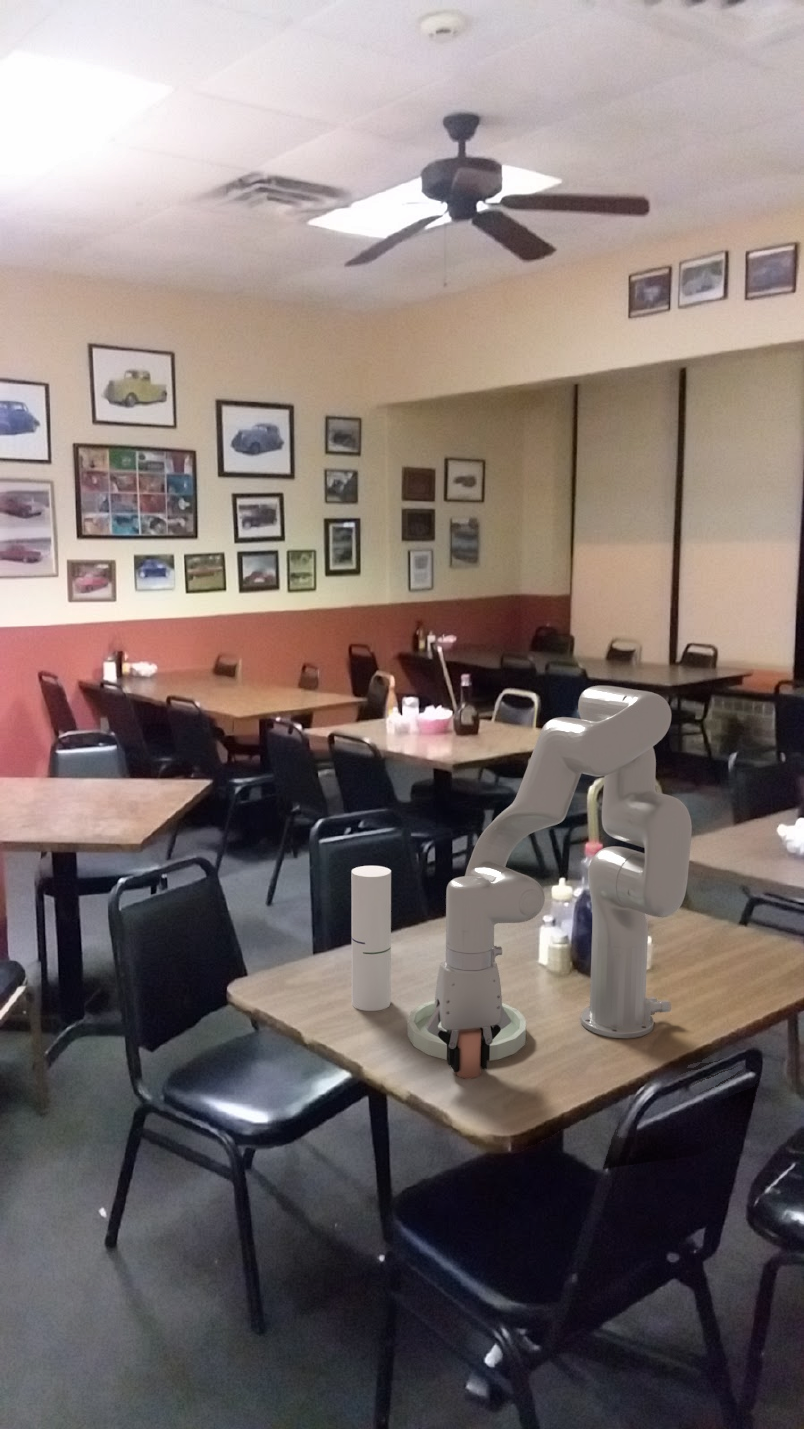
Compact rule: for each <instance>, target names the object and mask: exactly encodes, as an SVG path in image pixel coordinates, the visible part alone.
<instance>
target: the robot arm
mask: <svg viewBox="0 0 804 1429" xmlns="http://www.w3.org/2000/svg"><path fill="white" fill-rule="evenodd" d="M577 704H578V706H577V707H578V708H577V709H578V714H579V718H577V717H576V718H574V717H566V716H561V717H554V718H552V719H550V720H548V721H547V722H545V724H543V726H542V728H541V730H540V732H539V733H538V734H539V735H538V737H537V740H536V743H535V745H534V748H533V750H532V754H531V757H530V758H529V761H528V764H527V767H526V770H525V772H524V774H523V778H522V781H521V782H520V786H519V789H518V791H517V794H516V797H515V799H514V800H513V802H512V803H511V804H510V805H509V806H508V807H506V808H505V809H504V810H503V811H501V813H499V814H498V815H497V816H496V817H495V818H494V820H492V822H491V823H490V824H488V826H486V828H485V829H484V830H483V831H482V832H481V835H480V836H479V837H478V839H477V841H476V844H475V846H474V848H473V851H472V854H471V857H470V859H469V861H468V864H467V867H466V871H465V874H464V876H458V877H455V878H453V879H452V880H450V881H449V882H448V884H447V886H446V892H445V893H446V895H445V897H446V898H445V905H446V906H445V907H446V908H445V917H446V918H445V961H442V962H441V963H440V965H439V969H438V973H437V978H436V985H435V994H434V1000H435V1005H434V1013H433V1015H432V1016H431V1018H430V1019H429V1021H428V1023H427V1024H426V1029H427V1031H428V1032H429V1033H431V1034H433V1035H435V1036H437V1037H439V1038H440V1039H441V1040H442V1041H443V1042H444V1043H446V1044H447V1060H446V1063H447V1065H448V1066H450V1068H451V1069H452V1071H453V1073H455V1074H456V1072H458V1071H459V1058H460V1050H459V1048H458V1047H457V1040H458V1034H459V1030H463V1029H473V1028H480V1029H481V1069H483V1070H487V1069H488V1062H490V1061H489V1059H490V1044H492V1042H493V1039H494V1038H495V1037H496V1036H497V1034H498V1033H499V1032H500V1031H501V1029H503V1028H505V1027H506V1026H507V1025H509V1024H510V1023H511V1019H510V1018H509V1016H508V1015H507V1013H506V1012H505V1010H504V1009H503V1007H502V1003H503V998H502V997H503V996H502V987H501V986H502V985H501V978H500V972H499V968H498V964H497V962H496V957H498V956H502V955H503V948H502V946H500V945H499V946H497V945H495V925H496V924H515V923H516V924H518V923H524V922H528V921H530V920H533V919H534V918H536V916H538V915H539V914H540V912H541V911H542V909H543V908H544V905H545V899H546V898H545V897H546V896H545V891H544V890H543V887H542V886H541V885H540V883H539V882H538V881H537V880H535V879H534V878H532V877H530V876H529V875H527V874H523V873H521V872H518V871H516V870H513V869H510V868H508V867H506V865H507V862H508V861H509V858H510V855H511V854H512V852H513V850H515V848H516V846H517V844H518V845H519V843H520V842H521V841H522V840H523V839H524V838H526V837H527V836H529V835H530V834H533V833H535V832H538V831H541V830H543V829H546V828H549V827H554V826H556V825H558V824H560V823H562V822H563V821H564V820H565V819H566V817H567V814H568V811H569V808H570V805H571V802H572V799H573V798H574V794H575V792H576V789H577V786H578V784H579V782H580V781H579V780H580V778H581V776H582V774H583V775H588V776H592V777H596V778H599V777H604V780H603V793H602V803H601V804H602V805H601V825H602V829H603V830H604V832H605V833H606V834H607V835H608V836H610V837H612V838H613V839H616V840H618V841H622V842H625V843H627V844H631V845H634V846H637V847H641V848H644V852H641V851H637V850H634V849H631V848H628V847H623V846H615V845H614V846H607V847H604V848H601V849H600V850H599V851H597V852H596V853H595V854H594V855H593V856H592V858H591V860H590V862H589V865H588V871H587V881H588V882H587V883H588V889H589V895H590V900H591V910H592V911H591V913H592V927H591V928H592V929H591V930H592V933H591V954H590V955H591V957H590V958H591V961H590V989H589V1006H587V1007H585V1008H584V1009H583V1010H582V1011H581V1013H580V1024H581V1025H582V1026H583V1027H584V1028H585V1029H586V1030H588V1031H589V1032H591V1033H594V1034H595V1035H596V1034H597V1035H600V1036H603V1037H608V1038H615V1039H633V1038H640V1037H643V1036H645V1035H647V1034H649V1033H651V1032H652V1030H653V1029H654V1025H655V1024H654V1023H655V1022H654V1018H653V1016H654V1015H656V1014H655V1013H668V1012H671V1009H672V1005H671V1002H670V1001H669V1000H668V999H667V1000H658V999H657V997H655V996H651V997H648V998H647V997H646V995H647V994H646V992H647V991H646V989H647V968H648V967H647V964H648V943H649V926H648V925H649V924H648V920H647V917H646V915H649V916H651V917H655V918H667V917H670V916H672V915H674V914H675V913H676V912H678V910H679V909H680V907H681V906H682V904H683V903H684V899H685V896H686V892H687V887H688V886H687V885H688V876H689V866H690V855H691V847H692V846H691V845H692V833H693V832H692V831H693V827H692V819H691V818H692V817H691V816H690V815H691V814H690V812H689V810H688V808H687V806H686V805H685V804H684V803H683V801H681V800H680V799H679V798H677V797H675V796H672V795H669V794H665V793H661V792H657V790H656V769H657V768H656V767H657V762H656V761H657V759H656V753H655V749H654V747H655V745H657V744H658V743H659V742H660V741H662V740H663V738H664V737H665V736H666V734H667V732H668V731H669V728H670V727H671V722H672V709H671V706H670V705H669V703H668V701H667V700H666V699H665V698H664V697H663V696H661V695H660V694H658V693H654V692H652V691H648V690H640V689H639V690H638V689H632V688H628V687H627V688H626V687H622V686H614V685H595V686H594V685H593V686H590V687H587V688H586V689H585V690H583V691H582V692H581V694H580V696H579V699H578V703H577ZM440 1021H441V1026H442V1028H443V1029H445V1030H446V1031H445V1030H443V1029H442V1028H439V1027H438V1025H439V1023H440Z"/></svg>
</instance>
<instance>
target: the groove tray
mask: <svg viewBox="0 0 804 1429" xmlns="http://www.w3.org/2000/svg"><path fill="white" fill-rule="evenodd" d="M434 1005H435V999H434V1000H431V1001H427V1002H424V1003H421V1004H420V1005H418V1006H417V1007H416V1008H414V1009H413V1010H412V1011H410V1013H409V1017H408V1019H407V1038H408V1039H409V1041H410V1043H411V1045H412V1046H413V1047H415V1048H416V1049H417V1050H420V1051H421V1052H423V1053H424V1054H425V1055H427V1056H430V1057H431V1056H432V1057H434V1058H437V1059H438V1058H439V1059H442V1060H445V1061H447V1044H446V1043H444V1042H443V1041H442V1040H441V1039H440V1038H439V1037H437V1036H435V1035H433V1034H431V1033H429V1032H428V1031H427V1029H426V1024H427V1023H428V1021H429V1019H430V1018H431V1016H432V1015H433V1013H434ZM502 1007H503V1009H504V1010H505V1012H506V1013H507V1015H508V1016H509V1018H510V1019H511V1023H510V1024H509V1025H507V1026H506V1027H505V1028H503V1029H501V1031H500V1032H499V1033H498V1034H497V1036H496V1037H495V1038H494V1039H493V1042H492V1044H490V1059H489V1061H488V1062H490V1061H491V1062H492V1061H498V1060H501V1059H503V1058H506V1057H509V1056H511V1055H514V1054H516V1053H517V1052H519V1051H520V1050H521V1048H523V1047H524V1046H525V1045H526V1036H527V1035H526V1034H527V1018H525V1016H524V1015H523V1014H522V1013H521V1012H520V1011H519V1009H517V1008H514V1007H512V1006H511V1005H508V1004H506V1003H504V1002H502ZM438 1027H439V1028H442V1026H441V1021H440V1023H439V1025H438ZM442 1029H443V1028H442ZM443 1030H445V1029H443ZM445 1031H446V1030H445Z"/></svg>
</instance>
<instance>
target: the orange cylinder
mask: <svg viewBox="0 0 804 1429" xmlns="http://www.w3.org/2000/svg"><path fill="white" fill-rule="evenodd" d="M457 1047H458V1048H459V1050H460V1058H459V1071H458V1072H456V1073H455V1075H456V1076H458V1077H460V1078H462V1079H475V1078H478V1077H479V1076H480V1075H481V1069H482V1068H481V1029H480V1028H473V1029H463V1030H459V1034H458V1040H457Z"/></svg>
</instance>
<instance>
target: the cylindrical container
mask: <svg viewBox="0 0 804 1429" xmlns="http://www.w3.org/2000/svg"><path fill="white" fill-rule="evenodd" d="M350 876H351V879H350V880H351V1005H352V1007H353V1008H355V1009H357V1010H360V1011H365V1012H376V1011H381V1010H385V1009H387V1008H388V1007H390V1006H391V996H392V995H391V992H392V991H391V990H392V988H391V987H392V986H391V983H392V982H391V974H392V973H391V971H392V970H391V969H392V968H391V967H392V966H391V965H392V964H391V963H392V962H391V961H392V960H391V959H392V958H391V957H392V954H391V953H392V948H391V947H392V946H391V944H392V943H391V942H392V933H391V931H392V929H391V928H392V912H391V911H392V870H391V869H390V868H388V867H387V866H386V867H385V866H382V865H363V866H357V867H355V868H352V869H351V875H350Z"/></svg>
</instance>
